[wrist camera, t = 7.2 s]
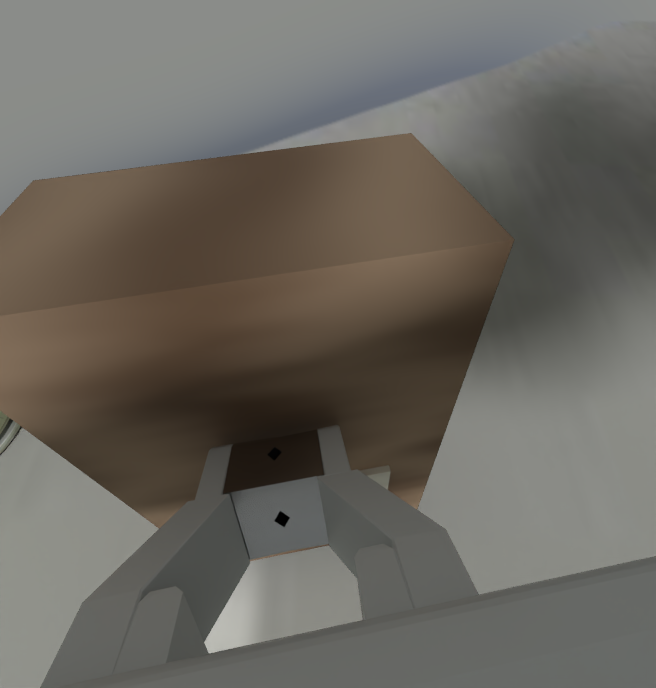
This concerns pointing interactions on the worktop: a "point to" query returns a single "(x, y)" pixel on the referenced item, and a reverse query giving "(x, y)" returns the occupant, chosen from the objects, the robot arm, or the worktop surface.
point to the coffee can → (7, 431)
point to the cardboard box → (244, 311)
